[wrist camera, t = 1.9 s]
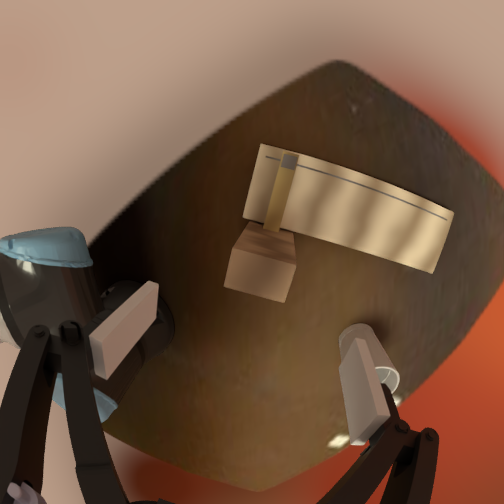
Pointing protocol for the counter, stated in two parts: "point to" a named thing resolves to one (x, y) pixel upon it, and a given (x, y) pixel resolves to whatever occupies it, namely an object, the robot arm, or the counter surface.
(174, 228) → the counter surface
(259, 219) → the board
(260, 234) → the gauge
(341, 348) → the cup
